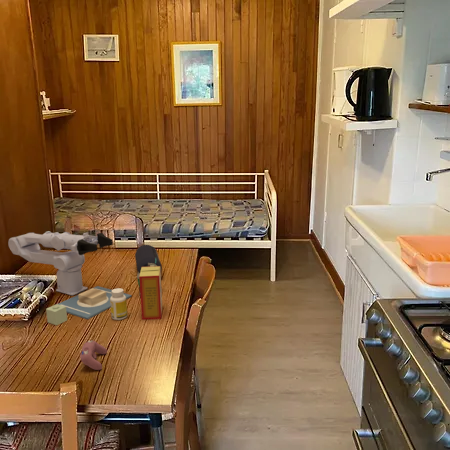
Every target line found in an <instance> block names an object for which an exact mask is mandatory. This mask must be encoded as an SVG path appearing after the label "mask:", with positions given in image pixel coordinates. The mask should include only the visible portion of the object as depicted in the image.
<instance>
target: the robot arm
mask: <svg viewBox="0 0 450 450" xmlns="http://www.w3.org/2000/svg"><path fill="white" fill-rule="evenodd" d="M7 243H8V249H10V251H11V253H12V254H13V255H17V256H20V257H21V258H23V259H24V260H26V261H28V262H30V263H36V264H45V265H52V266H53V267H54V269H58V270H57V272H56V283H57V288H56V289H55V290H56V292H59V293H62V294H67V295H69V296H74V295H75V296H76V295H78V294H80V293H83V292H85V290H86V291H87V290H89V289H88V286H83V284H84V283H83V277H82V276H83V275H82V268H83V265H84V264H85V262H86V261H85V254H87V253H93V252H97V251H98V246H99V249H102V248H105V247H109V246H113V245H114V243H113V239H112V238H109V237H108V236H106V235H105V234H104V233H103V232H98V233H96V236H95V235H89V232H83V234H81V235H80V234H71V233H70V232H68V231H64V232H63V233H59V232H58V231H57V232H51V231H49V230H48V231H45V232H44V233H43V234H40V233H35V232H27V233H26V234H21V235H18V236H13V237H10V238H9V239H8V242H7ZM39 244H41V245H42V247H44V248H54V249H55V250H56V251H53V250H52V251H51V250H43V249H41V246H40V245H39ZM63 249H64V250H70V251H64V252H61V250H63Z"/></svg>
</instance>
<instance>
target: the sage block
mask: <svg viewBox="0 0 450 450" xmlns="http://www.w3.org/2000/svg"><path fill="white" fill-rule="evenodd" d="M45 311H46V319H47V320H46V321H47V323H48V324H51V325H55V326H58V325H60V324H62V323H63V324H64V323H65V322H67V321H68V313H67V312H66V307H65V306H62V305H59V303H56V304H54V305H52V306H51V305H50V307H47V308H45Z"/></svg>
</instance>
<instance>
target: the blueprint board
mask: <svg viewBox="0 0 450 450" xmlns="http://www.w3.org/2000/svg"><path fill="white" fill-rule="evenodd" d="M112 290H113V289H110V288H106V287H102V286H99V285H97V286H94V287H92V288H89V289H86V291H85V290H84V291H82V292H80V293H77V294H76V295H75V296H74V295H73V296H72V297H70V298H68V299H66V300H64V301H62V302H59V303H58V304H59V305H62V306H65V307H66V312H67V314H70V315H73V316H75V317H78V318H81V319H84V320H89V319H91V318H93V317H95V316H97V315H99V314H101V313H103V312H105V311H107V310H108V309H111V306H110V298H111V296H112ZM123 295H125V296H126V300H127V299H130V298H132V294H128V293H126V292H125V293H124V294H123Z"/></svg>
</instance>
